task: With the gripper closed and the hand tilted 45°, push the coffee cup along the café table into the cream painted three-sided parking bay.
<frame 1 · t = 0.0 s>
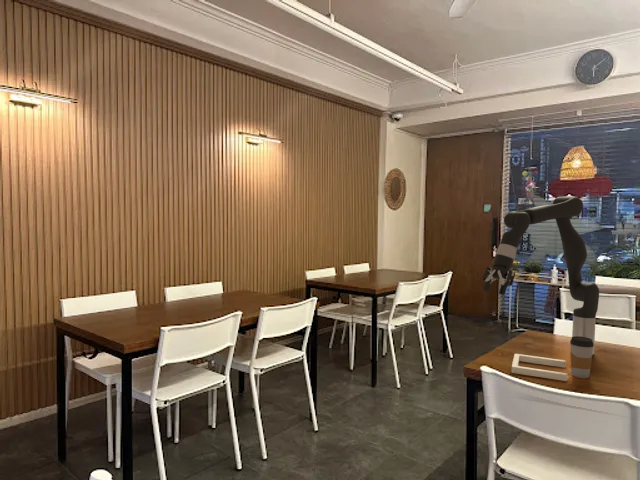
hand: (493, 292, 192), 31 cm above the table, tool tilted 20°, fingers open, 8 cm apart
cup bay: (536, 369, 192), on the table
coffee cup: (580, 376, 185), on the table
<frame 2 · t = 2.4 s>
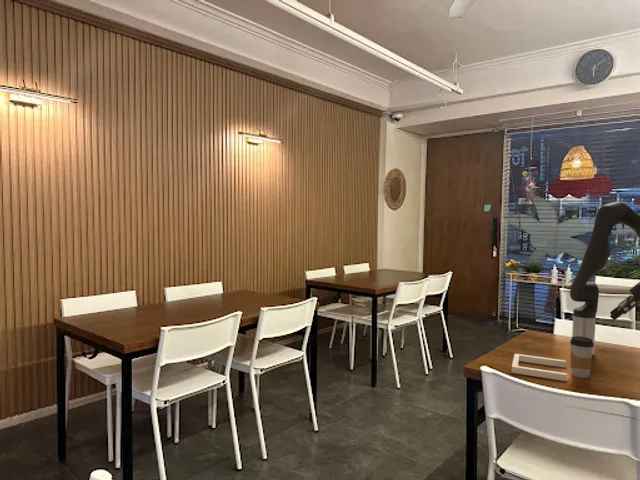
hand: (611, 316, 183), 24 cm above the table, tool tilted 45°, fingers open, 8 cm apart
nothing on the table moved.
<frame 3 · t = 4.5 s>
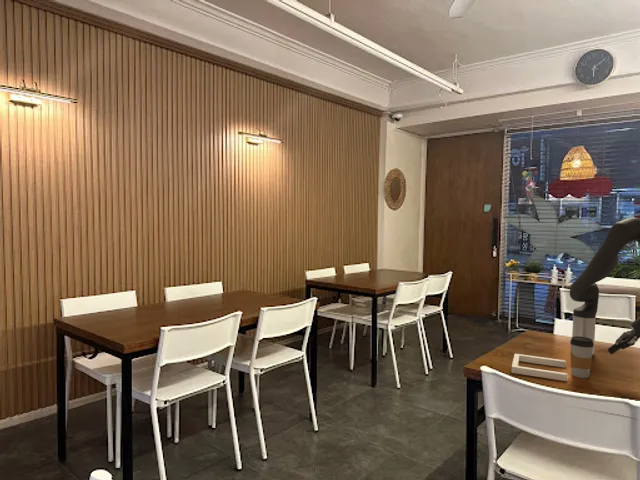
hand: (609, 351, 180), 11 cm above the table, tool tilted 45°, fingers closed
nothing on the table moved.
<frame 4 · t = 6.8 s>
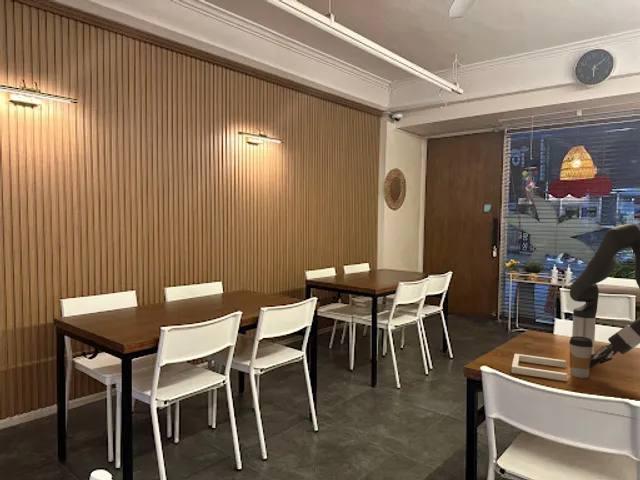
hand: (587, 366, 184), 4 cm above the table, tool tilted 45°, fingers closed
coffee cup: (579, 375, 185), on the table, touching gripper
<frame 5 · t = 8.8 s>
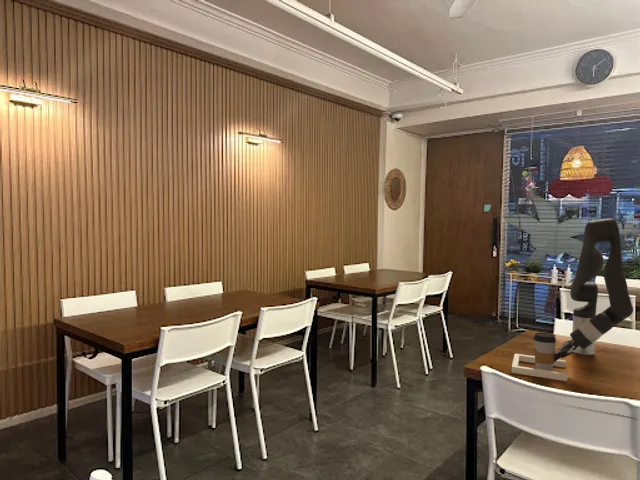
hand: (550, 360, 189), 5 cm above the table, tool tilted 45°, fingers closed
coffee cup: (544, 371, 190), on the table, touching gripper
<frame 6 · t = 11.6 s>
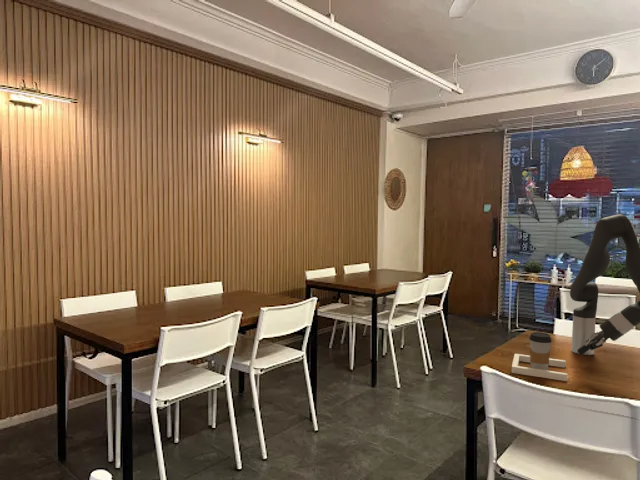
hand: (579, 352, 185), 9 cm above the table, tool tilted 45°, fingers closed
coffee cup: (539, 370, 191), on the table
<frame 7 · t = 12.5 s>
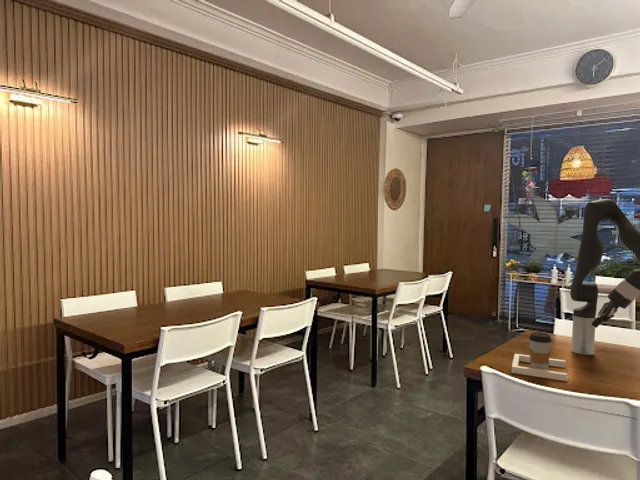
hand: (593, 325, 186), 20 cm above the table, tool tilted 35°, fingers closed
nothing on the table moved.
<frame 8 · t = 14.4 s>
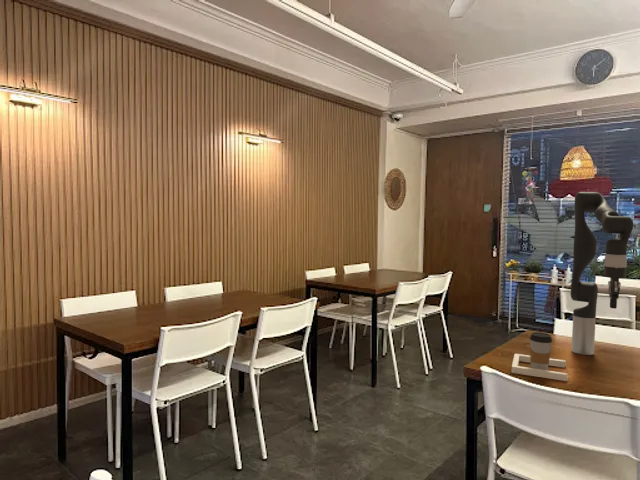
hand: (613, 308, 187), 27 cm above the table, tool pointing down, fingers closed
nothing on the table moved.
at the end: coffee cup inside the target area on the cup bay (1.5 cm from its centre), point 0.0 cm above the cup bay's base; coffee cup tilted 1°; the gripper is holding nothing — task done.
